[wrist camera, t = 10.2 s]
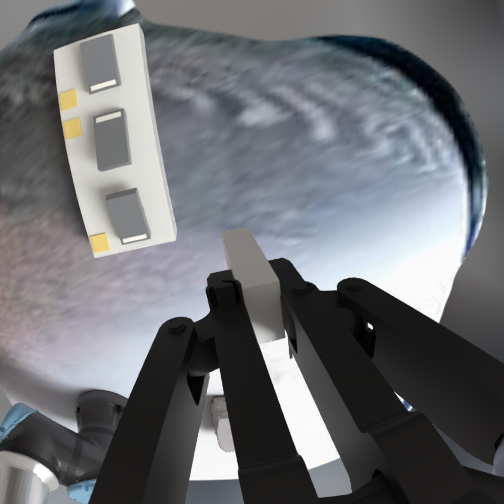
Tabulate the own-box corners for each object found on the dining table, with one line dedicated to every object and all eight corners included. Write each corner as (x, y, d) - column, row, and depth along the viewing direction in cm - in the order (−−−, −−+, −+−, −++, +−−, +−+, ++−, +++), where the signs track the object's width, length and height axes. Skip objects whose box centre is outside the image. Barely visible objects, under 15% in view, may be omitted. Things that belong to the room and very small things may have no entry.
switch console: (101, 245, 45) (91, 261, 40) (64, 57, 33) (49, 49, 28) (176, 229, 47) (175, 243, 41) (143, 33, 35) (137, 21, 29)
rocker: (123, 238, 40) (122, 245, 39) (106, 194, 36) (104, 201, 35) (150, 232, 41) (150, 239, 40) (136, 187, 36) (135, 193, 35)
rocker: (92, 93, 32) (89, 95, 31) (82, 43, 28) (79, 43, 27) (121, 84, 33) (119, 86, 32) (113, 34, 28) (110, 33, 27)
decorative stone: (242, 385, 62) (196, 398, 61) (250, 409, 55) (200, 423, 54) (258, 422, 68) (218, 434, 67) (265, 444, 62) (223, 456, 60)
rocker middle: (101, 172, 35) (97, 169, 33) (96, 120, 34) (92, 116, 32) (131, 164, 35) (129, 161, 34) (126, 112, 35) (123, 107, 33)
